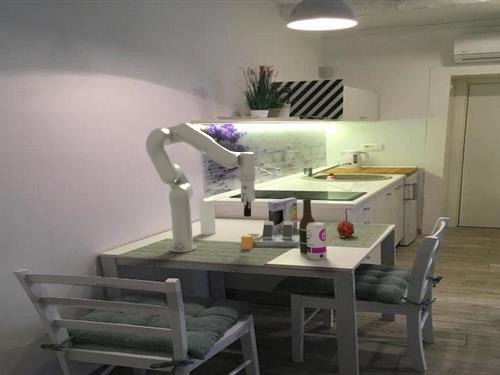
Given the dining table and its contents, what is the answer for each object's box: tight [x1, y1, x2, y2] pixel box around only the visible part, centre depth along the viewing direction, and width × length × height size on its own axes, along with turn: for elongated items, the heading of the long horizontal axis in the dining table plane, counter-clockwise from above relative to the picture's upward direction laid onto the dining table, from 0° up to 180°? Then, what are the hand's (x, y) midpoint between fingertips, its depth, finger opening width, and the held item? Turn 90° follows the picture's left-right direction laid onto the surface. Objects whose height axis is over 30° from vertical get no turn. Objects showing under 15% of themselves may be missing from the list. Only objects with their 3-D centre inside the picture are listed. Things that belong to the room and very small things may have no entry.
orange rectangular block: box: [240, 234, 253, 250], centre depth 224 cm, size 4×4×6 cm
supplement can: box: [306, 221, 328, 261], centre depth 200 cm, size 8×8×15 cm
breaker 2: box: [282, 221, 294, 239], centre depth 229 cm, size 2×5×9 cm
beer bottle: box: [298, 198, 316, 255], centre depth 211 cm, size 8×8×24 cm
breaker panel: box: [240, 233, 300, 248], centre depth 231 cm, size 14×28×4 cm, turn 76°
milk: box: [198, 193, 216, 236], centre depth 261 cm, size 6×6×22 cm
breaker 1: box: [262, 220, 274, 239], centre depth 232 cm, size 2×5×9 cm
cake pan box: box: [267, 197, 299, 235], centre depth 259 cm, size 19×5×18 cm, turn 129°
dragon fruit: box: [336, 220, 355, 237], centre depth 239 cm, size 8×8×12 cm
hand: (247, 216), depth 224 cm, fingers closed
